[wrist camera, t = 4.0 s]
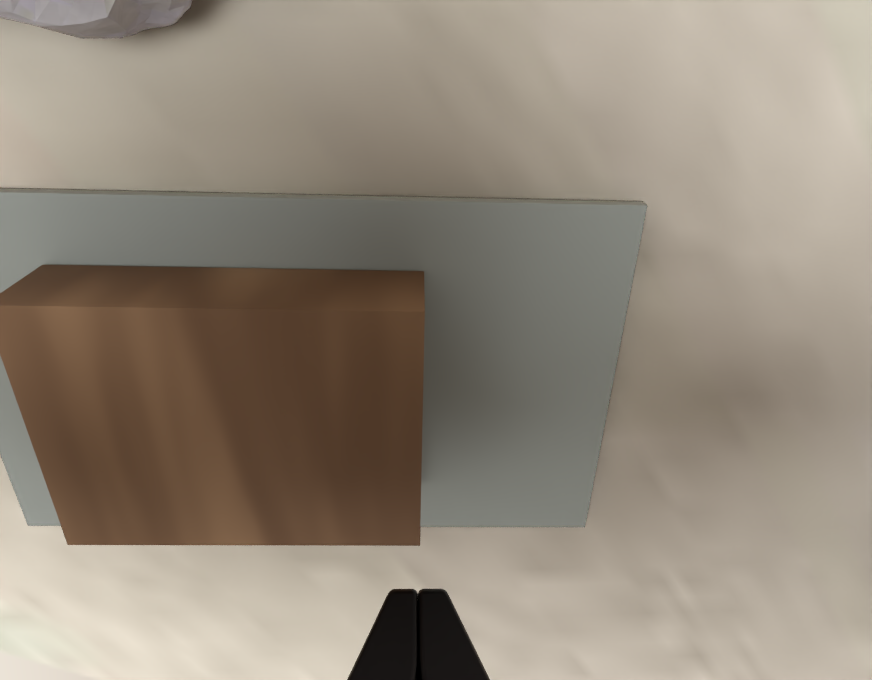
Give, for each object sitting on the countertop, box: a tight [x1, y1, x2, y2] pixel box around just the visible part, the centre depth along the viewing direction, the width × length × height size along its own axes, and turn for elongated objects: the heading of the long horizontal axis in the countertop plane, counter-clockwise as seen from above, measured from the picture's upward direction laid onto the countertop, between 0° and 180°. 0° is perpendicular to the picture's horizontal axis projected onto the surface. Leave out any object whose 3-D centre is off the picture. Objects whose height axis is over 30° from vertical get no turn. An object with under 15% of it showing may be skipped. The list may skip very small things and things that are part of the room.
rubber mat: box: [0, 188, 647, 527], centre depth 15 cm, size 15×9×1 cm, turn 88°
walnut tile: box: [0, 265, 425, 546], centre depth 14 cm, size 2×6×8 cm
